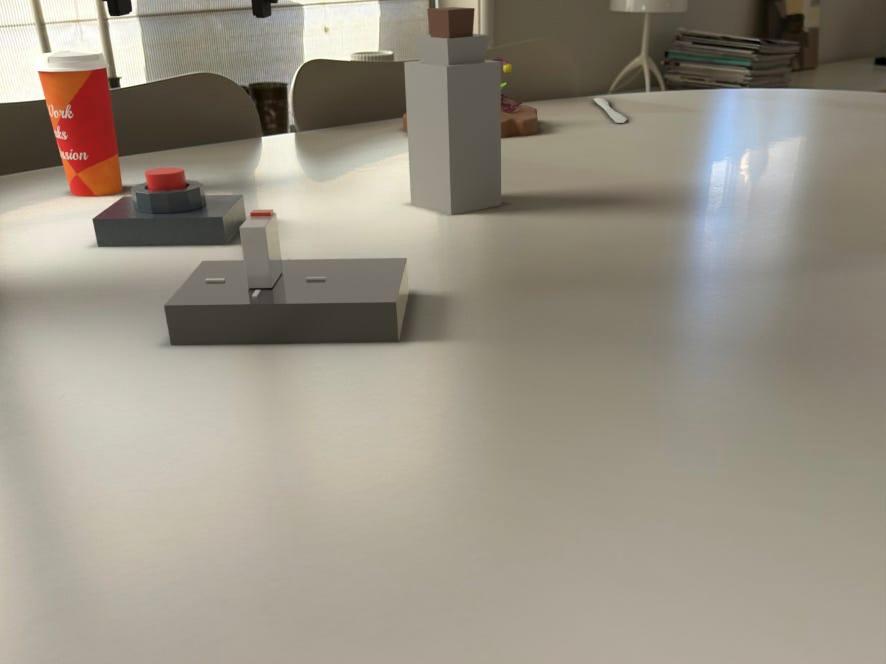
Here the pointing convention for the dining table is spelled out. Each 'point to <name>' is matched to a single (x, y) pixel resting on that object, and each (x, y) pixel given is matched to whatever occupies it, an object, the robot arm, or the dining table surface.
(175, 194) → the switch block
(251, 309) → the dark grey base block
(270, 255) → the white block red tab
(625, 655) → the dining table surface
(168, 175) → the power button
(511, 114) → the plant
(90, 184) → the paper cup
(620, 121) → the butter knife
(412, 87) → the perfume bottle
